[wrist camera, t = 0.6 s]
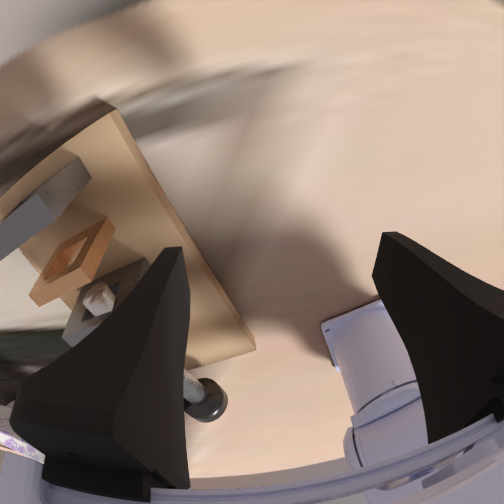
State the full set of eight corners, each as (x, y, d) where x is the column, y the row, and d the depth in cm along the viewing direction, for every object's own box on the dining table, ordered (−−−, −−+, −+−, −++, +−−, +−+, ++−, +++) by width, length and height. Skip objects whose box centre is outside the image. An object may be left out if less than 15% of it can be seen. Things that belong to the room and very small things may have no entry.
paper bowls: (6, 411, 38) (-3, 445, 31) (-7, 377, 31) (-21, 419, 24) (75, 439, 43) (70, 475, 37) (79, 414, 36) (71, 459, 30)
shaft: (226, 381, 28) (229, 417, 24) (190, 390, 28) (190, 425, 25) (124, 263, 19) (109, 307, 16) (82, 283, 19) (64, 324, 16)
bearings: (157, 273, 21) (146, 330, 17) (95, 299, 22) (77, 352, 17) (78, 156, 15) (37, 193, 11) (19, 201, 16) (-21, 243, 12)
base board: (254, 337, 28) (256, 350, 27) (148, 368, 30) (146, 380, 28) (117, 108, 16) (109, 112, 14) (0, 197, 17) (-10, 207, 16)
